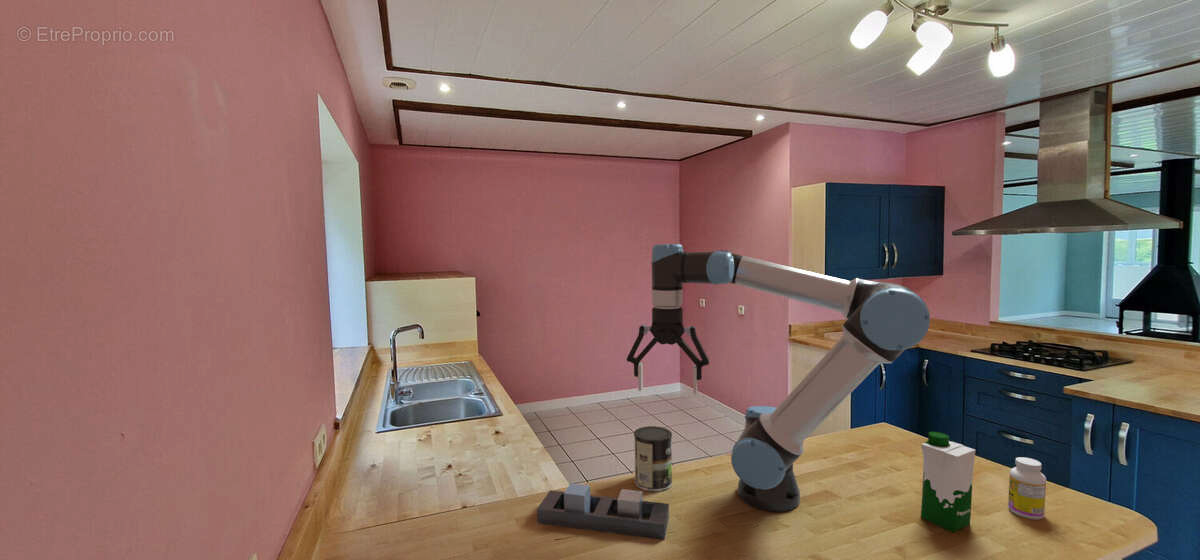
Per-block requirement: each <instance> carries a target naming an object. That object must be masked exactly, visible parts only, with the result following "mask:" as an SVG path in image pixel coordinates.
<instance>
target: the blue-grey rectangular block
mask: <svg viewBox="0 0 1200 560" xmlns="http://www.w3.org/2000/svg"><path fill="white" fill-rule="evenodd" d="M564 492H565V493H564V507H563V510H569V511H577V512H586V513H591V511H590V495H591V485H588V484H580V483H569V484H568V486H567V488H566V490H565V491H564Z"/></svg>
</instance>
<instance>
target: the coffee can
mask: <svg viewBox="0 0 1200 560" xmlns="http://www.w3.org/2000/svg"><path fill="white" fill-rule="evenodd" d="M633 436H634V484H635V485H636V487H637V488H639V489H641V491H646V492H652V493H653V492H656V493H657V492H663V490H664V491H666V489H667V490H669V489H670V488H671V487H672V485H673V479H672V478H673V476H672V475H673V474H672V473H673V472H672V471H673V470H672V465H673V464H672V463H673V462H672V460H673V459H672V445H673V444H672V436H673V433H672V431H671V430H670V429H668V428H666V427H661V426H651V425H650V426H642V427H639V428H637V429H635V430H634V432H633Z"/></svg>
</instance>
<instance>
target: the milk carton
mask: <svg viewBox="0 0 1200 560" xmlns="http://www.w3.org/2000/svg"><path fill="white" fill-rule="evenodd" d="M927 436H928V439H927V440H926V441H924V442H922V443H921V444H920V446H921V452H922V457H923V459H922V460H923V461H922V462H923V466H922V467H923V468H922V469H923V470H922V471H923V472H922V494H921V508H920V510H921V511H920V518H921V519H923V520H925V521H927V522H929V523H932V524H934V525H936V526H938V527H941V528H942V529H944V530H946V531H949V532H951V533H955V532H957V531H959V530H962V529H963V528H965V527H967V526H970V525H971V515H972V502H973V501H972V499H973V498H972V496H973V477H974V464H975V457H976V449H974V448H971V447H969V446H965V445H963V444H961V443H957V442H955V441H950V436H949V435H948V434H946V433H944V432H939V431H929V432H928V435H927Z"/></svg>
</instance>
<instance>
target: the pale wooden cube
mask: <svg viewBox="0 0 1200 560" xmlns="http://www.w3.org/2000/svg"><path fill="white" fill-rule="evenodd" d="M617 498H618V514H617V516H618V517H626V518H635V519H643V518H644V517H643V501H644V500H643V499H644V498H643V490H632V489H625V488H622V489H621V491H620V492H619V495H618V497H617ZM643 520H644V519H643Z"/></svg>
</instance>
